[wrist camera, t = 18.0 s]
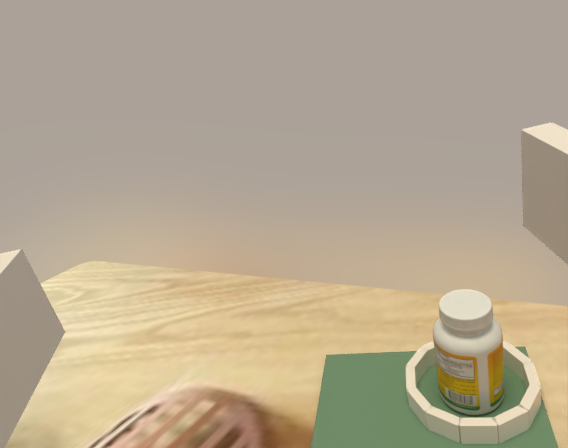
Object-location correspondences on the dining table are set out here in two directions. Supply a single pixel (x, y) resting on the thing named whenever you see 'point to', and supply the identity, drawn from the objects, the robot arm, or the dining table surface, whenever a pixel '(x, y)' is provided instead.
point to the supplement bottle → (469, 353)
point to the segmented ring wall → (475, 428)
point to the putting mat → (401, 406)
